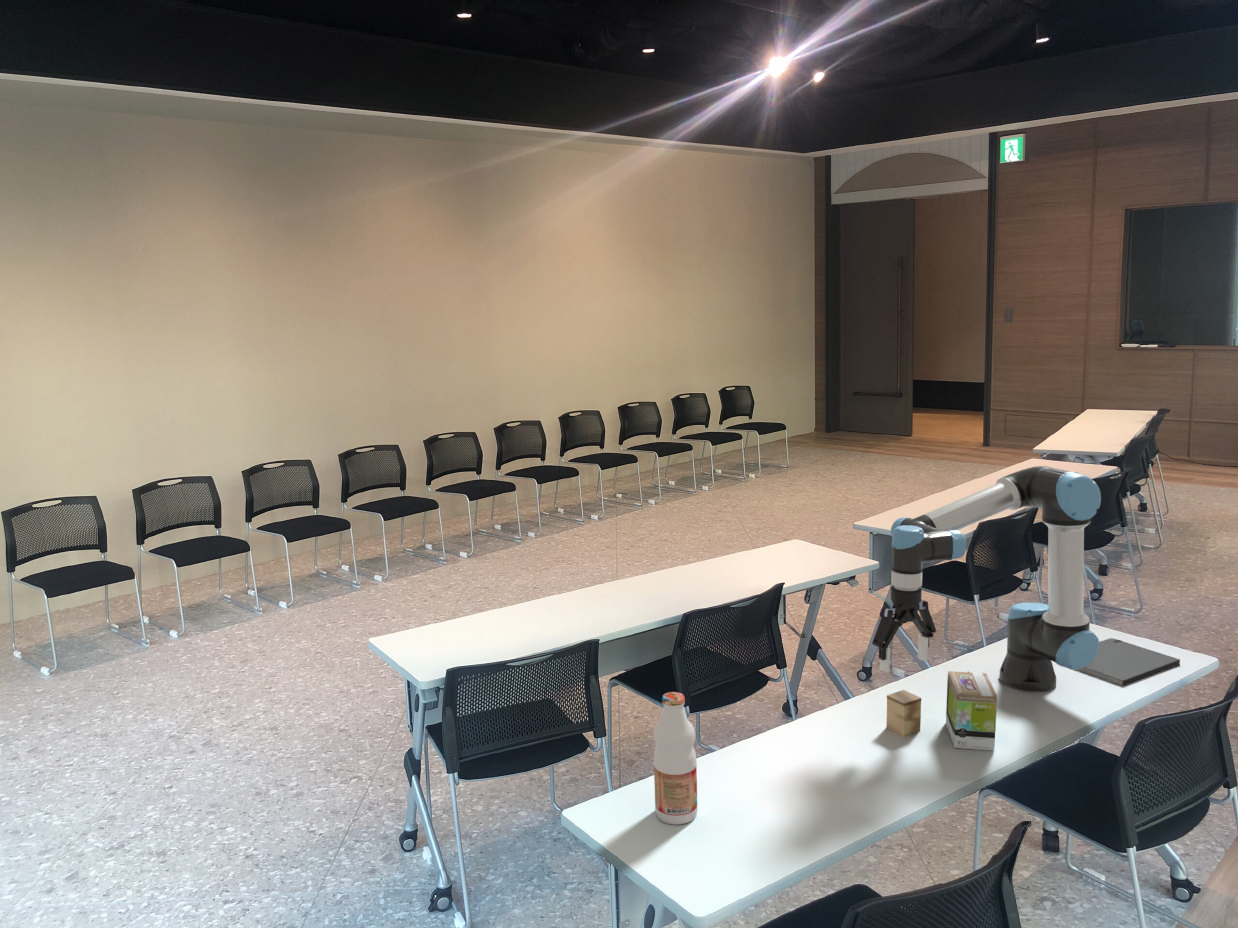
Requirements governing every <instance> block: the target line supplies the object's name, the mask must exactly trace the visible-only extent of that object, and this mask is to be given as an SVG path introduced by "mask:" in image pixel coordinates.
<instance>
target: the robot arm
mask: <svg viewBox="0 0 1238 928" xmlns="http://www.w3.org/2000/svg"><path fill="white" fill-rule="evenodd" d="M1101 502H1102V494H1101V490H1100V487H1099V486H1098V484H1097V482H1096V481H1095V480H1093V478H1091V477H1089V476H1088V475H1084V474H1082V473H1079V472H1077V471H1071V470H1064V469H1060V468H1054V467H1051V466H1047V465H1038V466H1037V465H1036V466H1031V467H1028V468H1025V469H1021V470H1017V471H1015V472H1013V473H1012V472H1011V473H1009V474H1006V475H1005V476H1003V477H1000V478H998V479H997V480H996V481H995V484H993V485H990V486H988V487H986V488H983V489H981V490H978V491H975V492H974V493H972V494H969V495H967V496H964V497H962V498H959V499H958V500H955V501H953V502H950V503H948V504H946V505H943V506H940V507H939V508H938V507H937V508H936V509H934V510H931V511H929V512H926V513H924V514H921V515H919V516H917V517H914V518H911V517H905V516H904V517H899V518H897V519H896V520H894V522H893V523H892V525H891V527H890V534H891V537H892V538H891V576H890V577H891V578H890V584H891V587H890V600H891V603H892V607H891V608H887V607H883V608H882V614H881V618H880V620H879V623H878V627H877V629H876V632H875V634H874V637H873V639H872V642H871V644H872V645H873V646H875V647H878V659H879V670H880V671H882V672H885V673H887V674H889V673H890V670H891V669H890V667H891V664H890V663H891V647H889V645H890V644H891V642H892V641H893V638H894V637H895V635H896V634H897V632H898V629H899V628H900V627H903V624H907V623H910V622H912V623H913V624H914V626H915V627H916V628H917V630H918V632H919V633H920V634H918V635H917V636H918V638H917V659H918V660H920V661H923V662H929V661H928V659H929V658H928V657H929V654H928V653H929V647H930V638H933V637H934V633H936V632H937V629H936V626H935V623H934V621H933V617H932V614H931V612H930V610H929V602H928V601H927V600H923V599H922V594H923V593H922V588H921V587H922V586H923V565H924V563H932V562H943V561H953V560H957V559H960V558H963V556H964V555H965V554H966V552H967V540H966V537H965V535H964V533H962V532H961V531H960V530H962V529H964V528H967V527H969V526H971V525H974V524H976V523H978V522H981V521H984V520H985V519H987V518H990V517H993V516H995V515H997V514H1000V513H1002V512H1004V511H1007V510H1010V511H1017V510H1019V509H1022V508H1028V507H1029V508H1031V507H1032V508H1037V509H1039V510H1041V522H1042V523H1043V524H1044V525H1046V527H1047V528H1048V530H1047V533H1048V534H1047V537H1048V538H1047V539H1048V540H1047V541H1048V542H1047V543H1048V544H1047V545H1048V546H1047V548H1048V550H1047V552H1048V554H1047V555H1048V556H1047V558H1048V562H1047V563H1048V565H1047V567H1048V568H1047V572H1048V574H1047V575H1048V580H1047V581H1048V585H1047V586H1048V589H1047V590H1048V599H1047V600H1048V601H1047V603H1048V604H1045V603H1042V602H1021V603H1016V604H1015V603H1014V604H1013V605H1012V606H1010V607H1009V609H1008V617H1007V633H1006V634H1007V635H1006V636H1007V639H1006V640H1007V641H1006V644H1007V645H1006V654H1005V657H1004V659H1003V661H1002V663H1001V666H1000V668H999V677H998V678H999V681H1001V682H1002V684H1004V685H1006V686H1007V687H1008V686H1009V687H1011V688H1013V689H1017V690H1021V691H1027V692H1045V691H1051V690H1052V689H1055V687H1056V686H1057V674H1056V673H1055V668H1054V665H1053V663H1055V664H1057V665H1058V666H1060V667H1064V668H1067V669H1069V670H1075V671H1076V670H1077V671H1079V670H1078V669H1082V668H1084V667H1086V666H1087V665H1089V664H1090V663H1091V661H1092V660H1094V658H1095V657H1096V655H1097V653H1098V650H1099V642H1100V640H1099V637H1098V635H1096V634H1095V633H1094V632H1093V631H1091V630H1090V618H1089V616H1088V615H1087V614H1086V613H1085V612H1084V587H1085V586H1084V578H1085V575H1084V573H1085V572H1084V571H1085V570H1084V566H1085V562H1084V561H1085V558H1084V556H1085V544H1084V543H1085V528H1086V527H1087V526H1088V525H1090V524H1091V519H1092V518H1094V516H1095V515H1096V514H1097V513H1098V512H1097V510H1099V509H1100V507H1101ZM918 612H919V613H918Z"/></svg>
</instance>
